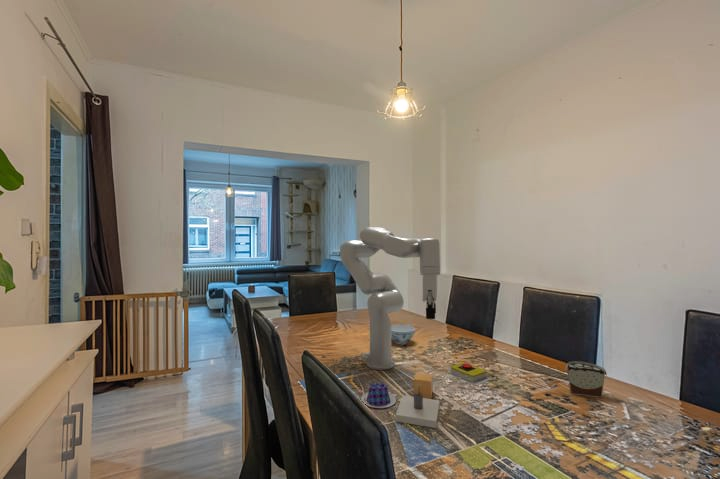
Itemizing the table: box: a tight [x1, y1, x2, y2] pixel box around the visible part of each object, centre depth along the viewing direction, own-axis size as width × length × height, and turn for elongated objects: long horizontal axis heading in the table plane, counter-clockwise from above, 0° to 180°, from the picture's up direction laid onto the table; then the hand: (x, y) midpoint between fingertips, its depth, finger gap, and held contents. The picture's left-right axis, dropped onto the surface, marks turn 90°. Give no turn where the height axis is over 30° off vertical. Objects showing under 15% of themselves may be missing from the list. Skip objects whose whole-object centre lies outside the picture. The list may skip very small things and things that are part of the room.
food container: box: [565, 360, 608, 399], centre depth 118 cm, size 12×6×10 cm, turn 71°
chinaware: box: [391, 324, 416, 345], centre depth 175 cm, size 15×15×8 cm
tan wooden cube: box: [413, 372, 434, 399], centre depth 116 cm, size 6×6×6 cm
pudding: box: [360, 382, 397, 409], centre depth 112 cm, size 12×12×5 cm
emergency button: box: [447, 362, 492, 386], centre depth 133 cm, size 9×4×15 cm
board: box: [395, 384, 440, 429], centre depth 103 cm, size 12×13×9 cm
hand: (431, 316), depth 124 cm, fingers open, 9 cm apart
